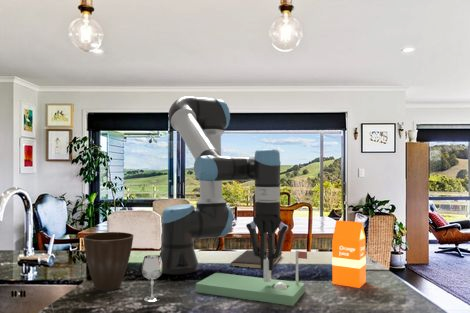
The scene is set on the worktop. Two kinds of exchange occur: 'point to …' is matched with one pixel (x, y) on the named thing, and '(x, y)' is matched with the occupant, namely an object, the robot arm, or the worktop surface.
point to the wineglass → (152, 272)
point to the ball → (280, 286)
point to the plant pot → (107, 258)
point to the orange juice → (349, 254)
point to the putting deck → (253, 287)
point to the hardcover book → (250, 260)
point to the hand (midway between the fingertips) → (267, 280)
